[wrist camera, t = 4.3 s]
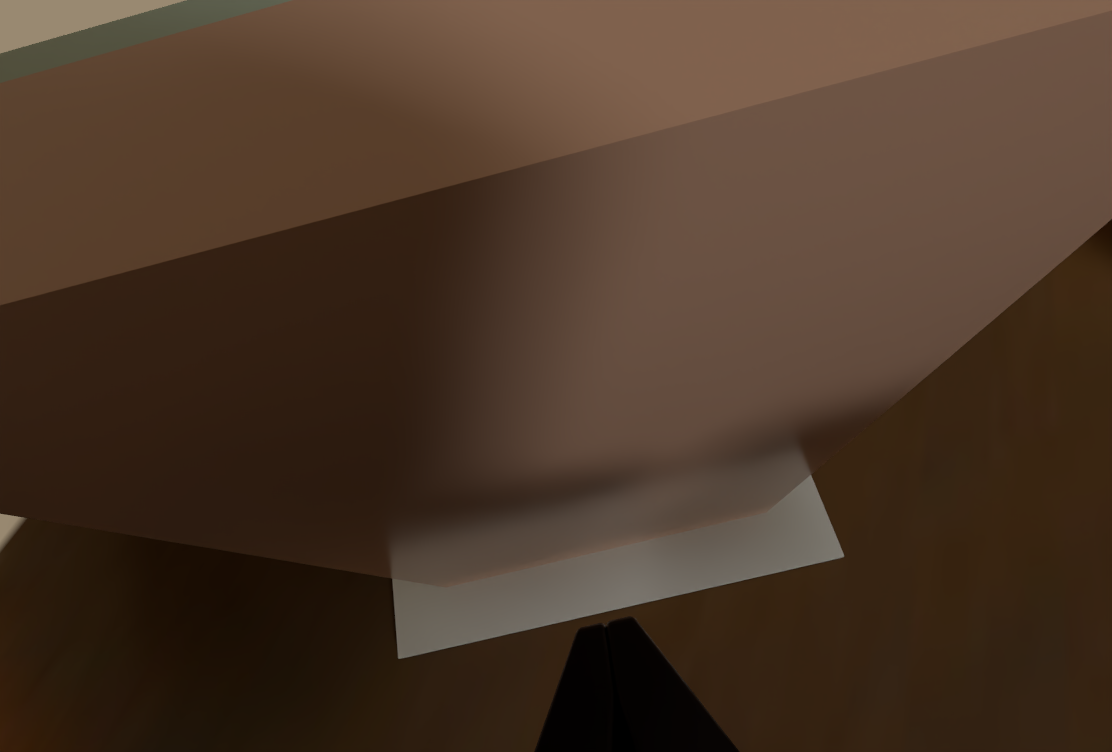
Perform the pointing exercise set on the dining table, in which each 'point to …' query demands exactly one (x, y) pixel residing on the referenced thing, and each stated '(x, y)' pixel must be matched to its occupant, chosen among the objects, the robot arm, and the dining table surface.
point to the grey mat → (616, 576)
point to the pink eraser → (511, 258)
